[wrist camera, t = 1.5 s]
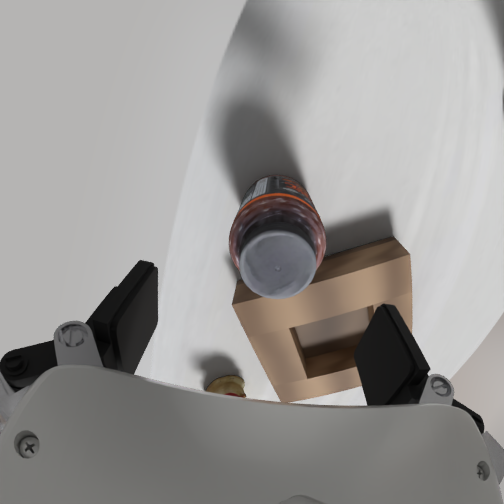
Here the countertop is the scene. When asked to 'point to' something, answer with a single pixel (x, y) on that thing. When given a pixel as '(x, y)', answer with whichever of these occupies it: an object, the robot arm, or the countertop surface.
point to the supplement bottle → (277, 238)
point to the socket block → (325, 319)
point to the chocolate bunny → (228, 386)
